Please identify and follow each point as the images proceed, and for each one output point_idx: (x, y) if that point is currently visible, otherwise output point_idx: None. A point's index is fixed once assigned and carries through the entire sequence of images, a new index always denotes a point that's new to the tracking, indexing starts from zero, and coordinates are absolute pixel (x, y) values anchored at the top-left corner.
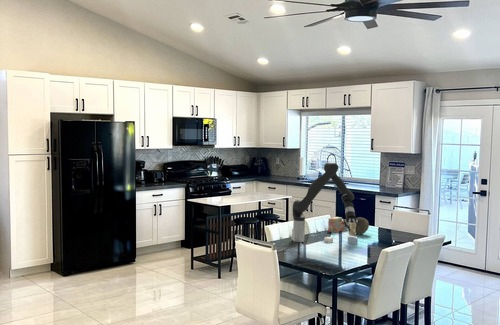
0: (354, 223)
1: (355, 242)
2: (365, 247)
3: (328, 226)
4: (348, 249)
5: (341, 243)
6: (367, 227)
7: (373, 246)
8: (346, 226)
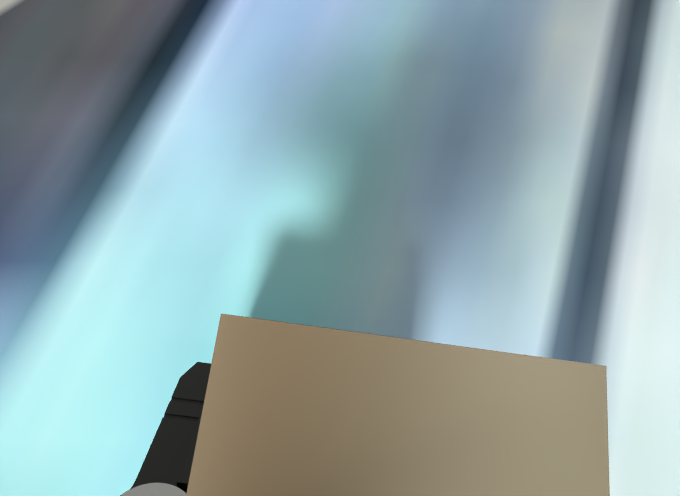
0: (295, 373)
1: None
2: (194, 108)
3: None
4: (513, 15)
5: None
6: None
7: (7, 166)
8: None
